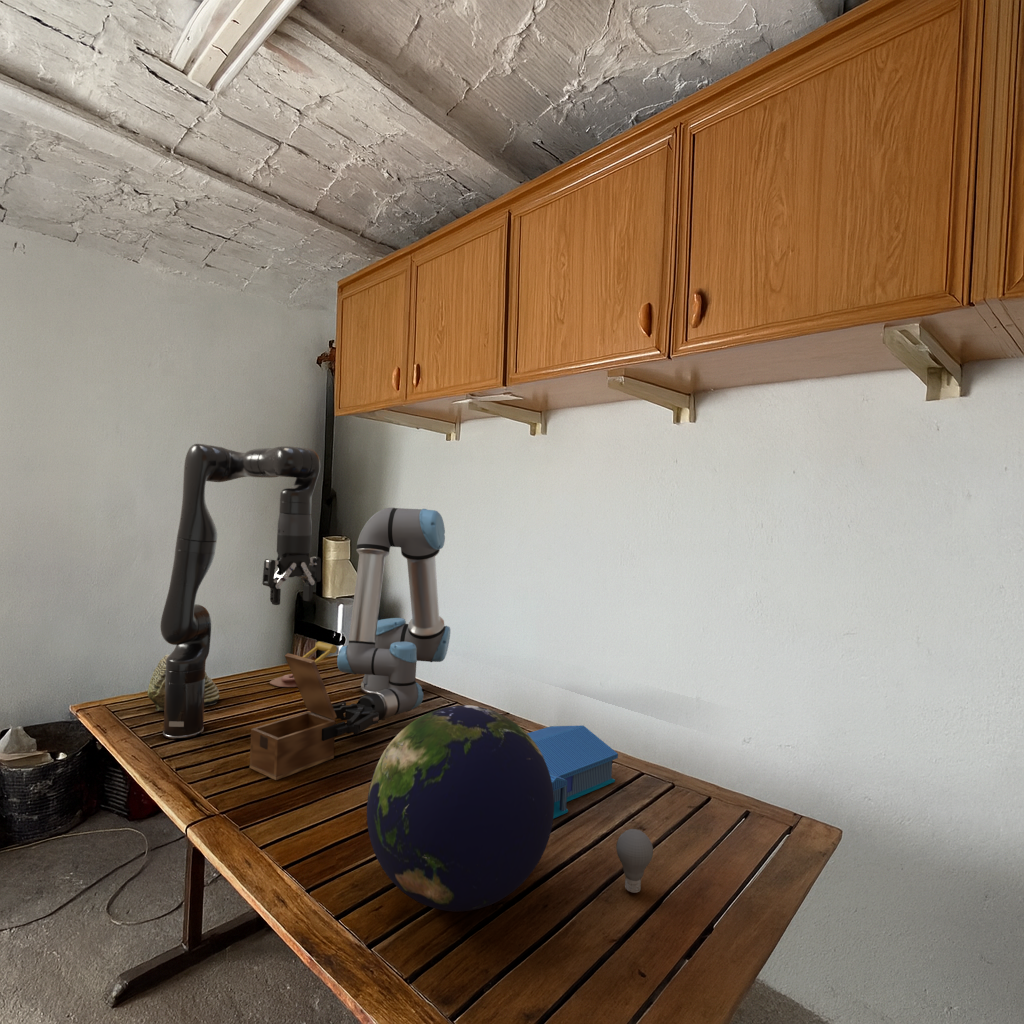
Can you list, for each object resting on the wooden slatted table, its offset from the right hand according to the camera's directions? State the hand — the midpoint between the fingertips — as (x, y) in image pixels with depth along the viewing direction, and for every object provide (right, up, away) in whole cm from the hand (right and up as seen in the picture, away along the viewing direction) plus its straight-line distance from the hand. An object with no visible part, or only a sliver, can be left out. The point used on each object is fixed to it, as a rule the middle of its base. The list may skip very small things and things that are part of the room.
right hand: (308, 729), depth 153 cm
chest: (-3, -7, -3) cm, 8 cm away
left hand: (-2, +31, -6) cm, 32 cm away
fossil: (-47, -4, +32) cm, 57 cm away
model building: (+53, -9, -12) cm, 55 cm away
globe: (+40, -10, -50) cm, 65 cm away
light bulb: (+69, -11, -47) cm, 85 cm away
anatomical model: (-24, -5, +59) cm, 64 cm away
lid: (0, +10, 0) cm, 10 cm away
